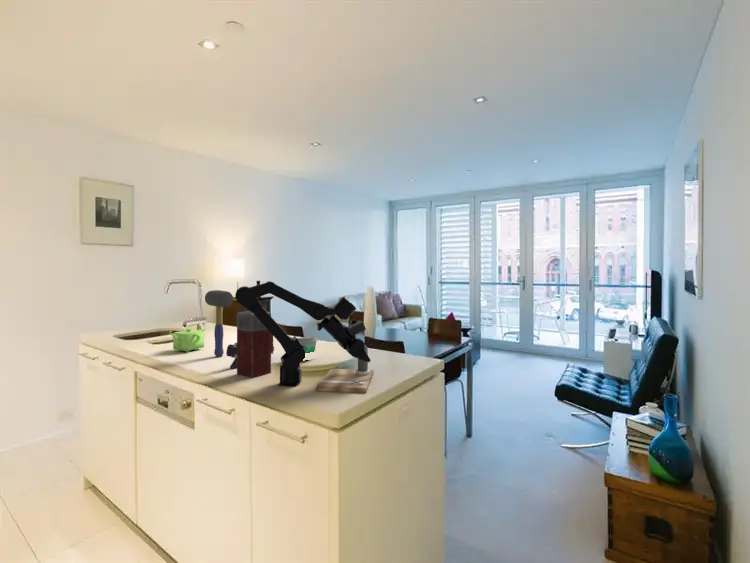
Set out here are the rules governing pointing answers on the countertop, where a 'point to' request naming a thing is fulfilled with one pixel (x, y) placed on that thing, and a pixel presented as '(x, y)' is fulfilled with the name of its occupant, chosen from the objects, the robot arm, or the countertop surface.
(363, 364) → the grey domed cylinder
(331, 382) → the board
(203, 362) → the countertop surface
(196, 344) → the teapot
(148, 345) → the countertop surface
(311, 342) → the food container
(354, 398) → the countertop surface
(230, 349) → the gun
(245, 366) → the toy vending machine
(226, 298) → the rubber mallet
